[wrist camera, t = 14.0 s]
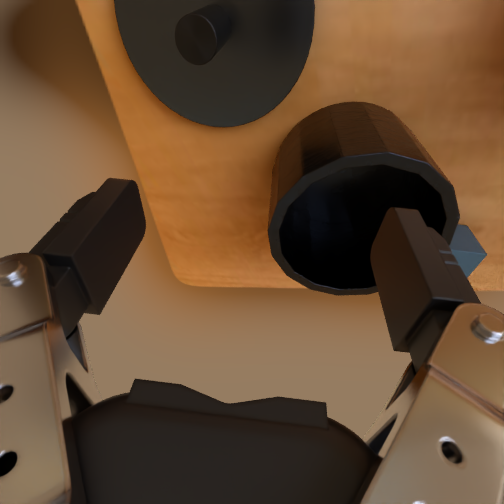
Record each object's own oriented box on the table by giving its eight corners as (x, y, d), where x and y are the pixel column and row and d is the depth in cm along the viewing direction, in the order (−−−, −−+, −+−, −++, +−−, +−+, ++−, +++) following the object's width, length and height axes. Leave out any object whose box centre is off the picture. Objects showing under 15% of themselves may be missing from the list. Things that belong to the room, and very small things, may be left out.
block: (467, 225, 31) (487, 254, 28) (444, 256, 34) (460, 285, 31) (424, 219, 31) (440, 248, 28) (405, 250, 34) (417, 280, 31)
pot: (428, 90, 23) (487, 141, 16) (401, 221, 32) (433, 292, 25) (265, 113, 26) (257, 166, 19) (280, 230, 34) (278, 297, 27)
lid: (310, -157, 16) (319, -213, 11) (315, 110, 25) (322, 144, 20) (82, -92, 19) (7, -114, 14) (161, 131, 27) (134, 166, 23)
